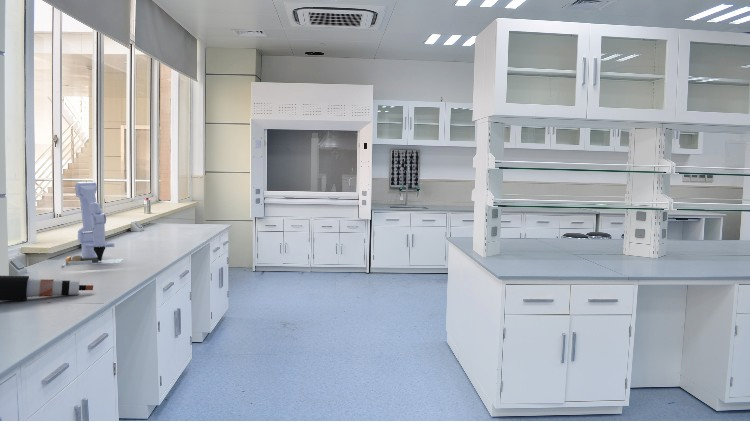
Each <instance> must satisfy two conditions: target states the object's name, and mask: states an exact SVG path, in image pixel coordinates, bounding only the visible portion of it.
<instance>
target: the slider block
mask: <svg viewBox="0 0 750 422" xmlns="http://www.w3.org/2000/svg"><path fill="white" fill-rule="evenodd" d="M81 258H82V255H79V254H78V255H74V256H71V259H72V262H73V261H81Z"/></svg>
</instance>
